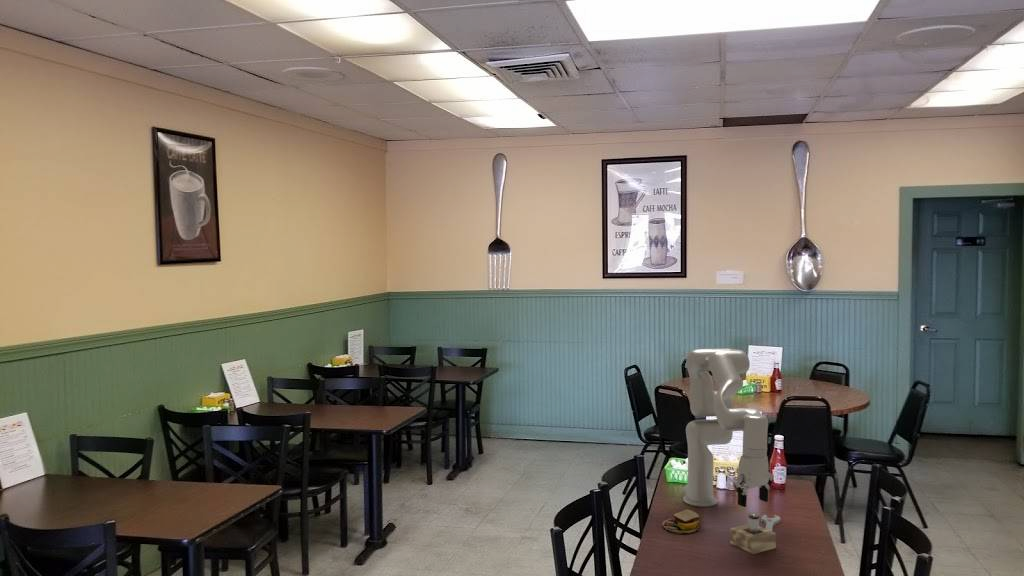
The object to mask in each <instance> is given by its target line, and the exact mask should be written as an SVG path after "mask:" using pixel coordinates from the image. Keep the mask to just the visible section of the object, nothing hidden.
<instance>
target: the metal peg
mask: <svg viewBox="0 0 1024 576" xmlns="http://www.w3.org/2000/svg"><path fill="white" fill-rule="evenodd" d="M759 526H760V514H759V513H757V512H749V513H748V533H751V534H753V535H754V534H758V533H759Z"/></svg>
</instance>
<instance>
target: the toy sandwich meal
mask: <svg viewBox="0 0 1024 576" xmlns="http://www.w3.org/2000/svg"><path fill="white" fill-rule="evenodd" d="M672 517H673V518H669V519H666V520H663V522H662V527H663V528H665V530H667V531H668V530H669V532H671V531H672V532H671V533H674V532H675V534H681V533H688V534H693V533H695V532H697V531H698V530H699V528H700V526H699V525H700V524H701V521H700V515H699V514H698V513H697V512H696V511H694V510H691V509H684V510H682V511H679V512H675V513H673V515H672ZM692 532H693V533H692Z"/></svg>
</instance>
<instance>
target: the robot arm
mask: <svg viewBox="0 0 1024 576" xmlns="http://www.w3.org/2000/svg"><path fill="white" fill-rule="evenodd" d="M685 361H686V369H687V372H688V377H689V406H690V407H689V409H690V412H691V415H693V416H695V417H701V418H702V417H716V419H715V418H714V419H694V420H691V421H690V422H688V423H687V425H686V427H685V434H686V435H685V436H686V441H687V484H685V485H684V486H683V487H682V489H681V491H683V492H685V495H684V496H683V497H682V499H683V502H684V503H686V504H687V505H690V506H695V507H713V506H715V505H717V503H718V499H717V498H716V497H715V496H714V455H713V453H712V451H711V450H710V449H709V448H708V446H712V445H713V446H716V445H727V444H729V443H730V442H731V441H732V440H733V435H734V434H733V433H734V432H742V455H740V458H739V460H738V461H739V462H738V468H737V478H735V479H734V480H733V481H732V485H733V487H734V490H735V492H736V493H737V505H738V506H740V507H743V508H747V499H748V498H747V492H748V490H749V489H754V488H757V487H758V488H759V492H758V493H759V494H758V499H759V500H760V501H762V502H765V503H768V502H769V490H770V489H771V485H772V484H773V480H774V477H775V475H774V474H773V473H771V472H769V470H770V469H769V459H768V454H767V453H768V429H769V428H768V427H769V425H768V423H769V420H768V417H767V416H766V415H765V414H763V413H761V412H760V411H759V410H758V409H757V408H754V407H745V408H744V407H738V408H736V407H733V406H734V405H733V404H734V403H733V400H732V397H733V396H735V395H736V394H738V393H739V392H740V391H741V390H742V389H743V386H744V383H743V380H742V378H741V376H740V374H746V373H747V372H748V371H749V369H750V364H751V363H750V358H749V356H748V355H747V353H746V352H745V351H743V350H742V349H735V348H727V347H725V348H722V347H721V348H720V347H717V348H695V349H692V350H690V351H689V352H688V353H687V356H686V360H685ZM710 372H711V374H710ZM712 377H713V378H712ZM713 379H714V381H713ZM714 382H715V385H716V386H717V388H718V389H717V390H714Z"/></svg>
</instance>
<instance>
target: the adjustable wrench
mask: <svg viewBox="0 0 1024 576" xmlns="http://www.w3.org/2000/svg"><path fill="white" fill-rule="evenodd" d="M760 522H761V523H763V524H765V527H764V528H765V529H767V530H770V531H772V532H774V530H773V529H774V526H776V525H779V524H780V523H781V517H780V516H779V515H776V514H773V517H768V516H767V514H764V515H762V516H761V517H760Z"/></svg>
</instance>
